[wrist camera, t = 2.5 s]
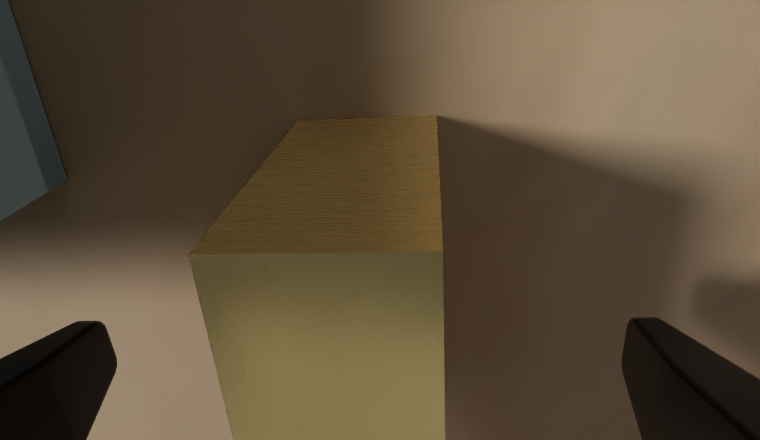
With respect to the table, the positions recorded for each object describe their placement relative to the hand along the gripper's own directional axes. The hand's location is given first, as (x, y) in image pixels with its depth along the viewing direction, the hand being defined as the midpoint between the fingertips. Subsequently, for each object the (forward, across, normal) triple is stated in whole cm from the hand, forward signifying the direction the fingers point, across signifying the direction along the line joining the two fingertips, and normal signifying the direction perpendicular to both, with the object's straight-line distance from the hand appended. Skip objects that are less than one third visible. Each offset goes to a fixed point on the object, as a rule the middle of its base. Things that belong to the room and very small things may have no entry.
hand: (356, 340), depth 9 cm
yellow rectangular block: (+2, 0, 0) cm, 2 cm away
